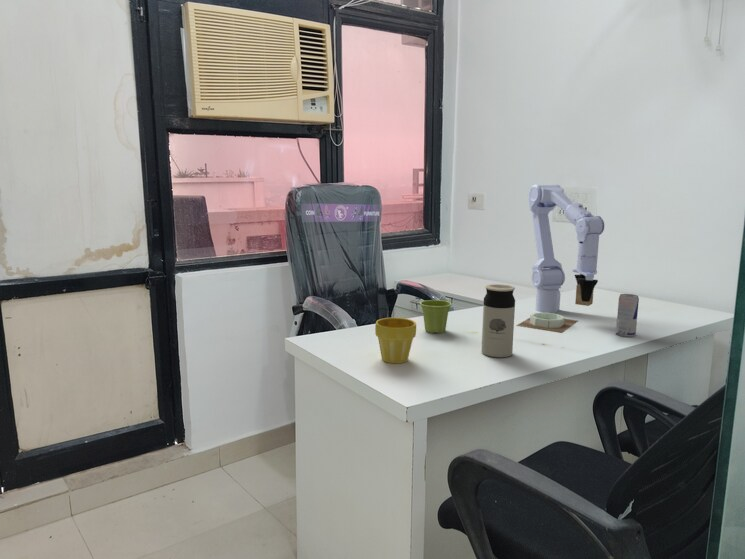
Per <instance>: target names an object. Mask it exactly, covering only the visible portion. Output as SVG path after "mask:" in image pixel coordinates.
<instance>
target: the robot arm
mask: <svg viewBox="0 0 745 559" xmlns="http://www.w3.org/2000/svg"><path fill="white" fill-rule="evenodd" d="M564 190H565V189H564V188H563V187H561V185H560V184H533V185H532V186H531V187H530V189H529V191H528V194H527V197H528V204H529V210H530V211H531V217H532V224H533V231H534V238H535V246H536V247H535V248H536V253H537V262H535V264H534V265H532V267H531V269H532V270H531V271H532V274H531V282H532V285H533V286H534V287H535V288H536V292H535V293H536V295H535V311H536V312H537V313H553V314H556V313H558V311H562V309H560V307H561V291H560V289H561V288H562V286H563V285H564V284H565V280H566V275H565V272H564V270H563V267H562V263H560V261H558V259H556V258H555V253H554V247H553V241H552V233H551V225H550V219H549V213H550V212H552V211H553V210H554V209H555V208H556V207H559V209H560V210H562V211H563V212H564V216H565V218H566V219H567V220H568V221H570V222H571V224H573V226H574V227H575V231H576V240H577V241H578V244H577V246H578V247H577V261H576V268H575V269H574V268H573V269H572V270H571V271H572V273H576V274H574V278H575V281H576V284H577V285H578V284H580V289H581V299H582V301H584V302H589V301H590V299H591V295H592V292H593V293H594V291H593V289H594V290H595V287H596V285H598V283H599V280H598V279H594V278H595V275H596V274H598V270H597V268H598V266H597V265H598V257H599V256H598V255H599V242H600V235H602V233H603V232H604V231H605V221H604V219H603V218H602V216H600V215H593V214H592V212H590V211H588V210H587V209H586V208H585V207H584V204H582V203H577V202H575V203H574V202H573V201H572V200H571V199H570V198H569V197H568V196H567V195H566V193H565V191H564ZM577 285H576V286H577Z"/></svg>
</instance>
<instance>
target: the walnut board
mask: <svg viewBox="0 0 745 559" xmlns="http://www.w3.org/2000/svg"><path fill="white" fill-rule="evenodd" d="M578 322H579V320H577V319H569V318H565V319H564V325H563V326H562V327H560V328H545V327H539V326H535V325H533V324H531V323H530V317H529V318H528V317H527V319H525V320H523V321H521V322H520V323H518V324H516V325H515V326H516V327H521V328H522V327H523V328H528V329H534V330H540V331H545V332H551V333H552V332H553V333H559V334H563V333H564V332H565V331H566V330H568V329H569V328H571V327H572V326H574V325H575V324H576V323H578Z"/></svg>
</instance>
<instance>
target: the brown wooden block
mask: <svg viewBox="0 0 745 559" xmlns="http://www.w3.org/2000/svg"><path fill="white" fill-rule="evenodd" d="M575 290H576V291H575V305H578V306H579V305H580V306H587V307H589V306H591V305H593V302H594V292H595V291H594V290H595V288H594V289H593V292H592V295H591V299H590V301H589V302H584V301H582V299H581V289H580V284H578V285H576V289H575Z"/></svg>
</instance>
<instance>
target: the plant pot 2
mask: <svg viewBox="0 0 745 559" xmlns="http://www.w3.org/2000/svg"><path fill="white" fill-rule="evenodd" d="M419 304H420V306H421V309H422V315H423V322H424V325H423V326H424V330H425V332H427V333H431V334H434V333H438V334H442V333H445V332H446V329H447V321H448V316H449V312H450V307H451V306H452V303H451V302H450V301H448V300H440V299H429V300H422V301H420V302H419Z"/></svg>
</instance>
